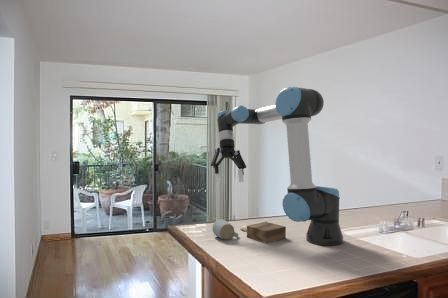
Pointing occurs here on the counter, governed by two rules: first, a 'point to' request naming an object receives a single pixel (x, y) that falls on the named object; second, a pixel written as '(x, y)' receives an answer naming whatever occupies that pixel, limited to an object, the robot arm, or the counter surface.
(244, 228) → the cork coaster
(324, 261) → the counter surface
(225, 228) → the ceramic mug
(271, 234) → the walnut base block
